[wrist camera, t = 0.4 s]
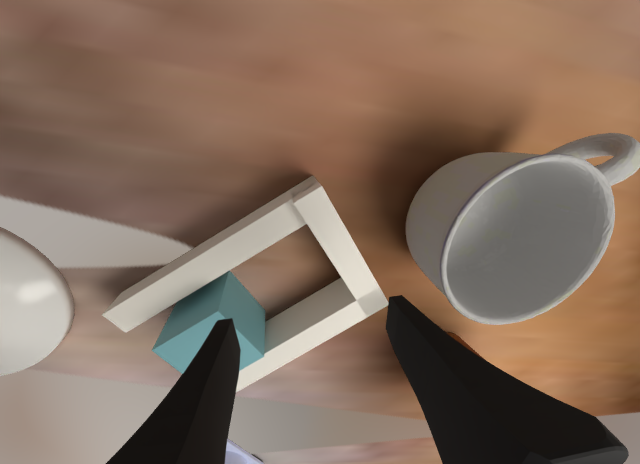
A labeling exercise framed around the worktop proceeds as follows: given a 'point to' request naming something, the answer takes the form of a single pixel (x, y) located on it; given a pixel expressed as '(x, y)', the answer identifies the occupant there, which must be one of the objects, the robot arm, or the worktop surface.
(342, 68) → the worktop surface
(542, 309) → the teacup
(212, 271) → the frame
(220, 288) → the cube
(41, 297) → the dish
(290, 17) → the worktop surface
